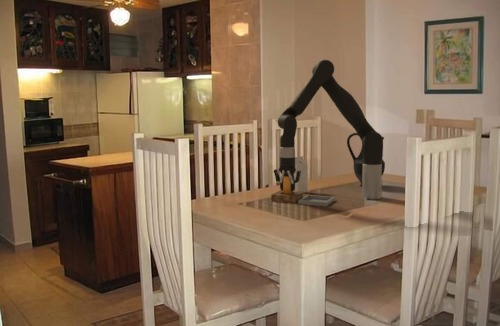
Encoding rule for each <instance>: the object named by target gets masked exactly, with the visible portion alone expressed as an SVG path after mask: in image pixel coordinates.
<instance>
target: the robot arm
mask: <svg viewBox="0 0 500 326" xmlns="http://www.w3.org/2000/svg"><path fill="white" fill-rule="evenodd" d="M311 71H312V72H311V73H312V76H311V77H310V79H309V80H308V81H307V83H306V84H305V86H303V88H301V90H300V91H299V93H298V94H297V95H296V96H295V97H294V99H293V100H292V102H291V104H290V105H289V106H288V107H286V108H285V110H283V112H282V113H281V114H280V115H279V117H278V118H277V119H278V120H277V125H278V127H279V128H280V129H282V130H283V133H282V135H281V136H280V138H279V154H278V155H279V168H276V169H273V174H274V177H275V178H274V179H275V181H276V182H278V183H279V190H281V191H283V176H287V177H289V178H290V180H291V183H292V184H291V191H294V190H295V183H297V182H299V179H300V175H301V170H300V171H299V170H296V168H295V157H296V148H295V142H296V140H295V136H296V135H297V134H296V133H297V129H298V128H297V127H298V123H297V117H298V116H301V115H302V114H303V113H304V111H306V109H307V108H308V105H309V104H310V103H311V101H312V100H313V99H314V97H315V95H316V94H317V93H318V91H319V90H320V89H321V87H322V89H323V90H324V91H325V93H327V95H328V96H329V98H330V100H331V101H332V103H334V105H335V107H336V108H337V110H338V111H339V112H340V114H341V115H342V117H343V118H344V119H345V120H346V122H348V123H349V124H350V126H352V128H353V129H354V130H355V133H358V135H359V136H358V135H357V136H358V137H359V139H360V141H361V143H362V142H363V144H364V155H363V174H362V187H361V189H362V190H361V197H362V198H365V199H367V200H380V199H382V198H383V178H382V177H381V174H382V159H383V156H384V139H383V138H382V137H383V136H382V135H381V134H380V133H379V132H378V131H376V130H375V128H374V127H373V126H372V125H371V124H370V123H369V121H368V120H367V118H366V116H365V114H364V112H363V110H362V108H361V107H360V105H359V103H358V102H357V100H356V99H355V97H354V96H353V95H352V94H351V93H350V92H349V91H347V90H346V88H344V87H343V86H341V85H340V84H339V83H338V81H337V80H336V79H335V77H334V74H335V73H334V72H335V65H334V63H333V62H332V61H330V60H329V59H323V60H320V61H318V62H317V63H316V64H315V65H314V66H313V67H312V70H311ZM295 172H296V179H294V173H295ZM280 174H281V175H280Z"/></svg>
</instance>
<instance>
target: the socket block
mask: <svg viewBox="0 0 500 326" xmlns="http://www.w3.org/2000/svg"><path fill="white" fill-rule="evenodd" d="M270 196H271V199H270V200H271V203H273V202H276V203H277V202H279V203H289V204H295V203H298V200H300V199H302V198H303V197H304V192H299V191H292V195H286V194H283V191H281V189H279V190H278V191H276V192H274V193H272V194H271V195H270Z"/></svg>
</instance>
